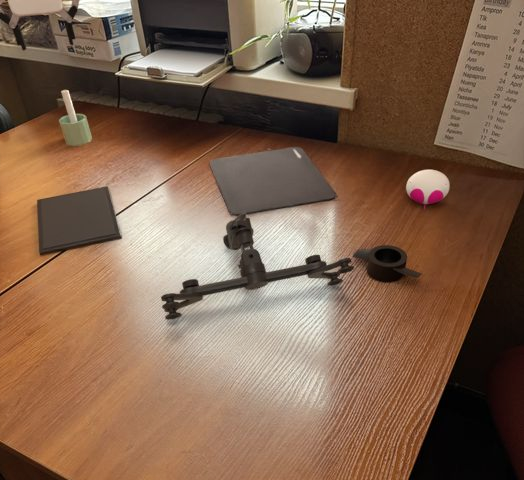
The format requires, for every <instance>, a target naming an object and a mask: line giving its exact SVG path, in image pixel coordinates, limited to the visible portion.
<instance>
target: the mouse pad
mask: <svg viewBox="0 0 524 480" xmlns="http://www.w3.org/2000/svg"><path fill="white" fill-rule="evenodd" d="M209 167H210V169H211V171H212V173H213V176H214V178H215V181H216V184H217V186H218V188H219V191H220V193H221V196H222V198H223V200H224V203H225V205H226V208H227V210H228V212H229V213H230V214H231V215H234V216H239V215H241V214H246V215H248V214H253V213H259V212H265V211H271V210H272V211H273V210H277V209H283V208H289V207H295V206H301V205H306V204H312V203H318V202H325V201H330V200H333V199H336V197H337V192H336V191H335V190H334V189H333V187H332V186H331V184H330V183H329V182H328V180H327V179H326V178H325V176H324V175H323V174H322V173H321V171H320V170H319V168H318V166H316V165H315V164H314V162H313V160H312V159H311V158H310V157H309V156H308V154H307V153H306V151H305V150H304V149H303V148H302V147H299V146H292V147H285V148H279V149H271V150H265V151H258V152H252V153H244V154H238V155H231V156H226V157H224V156H223V157H218V158H214V159H211V160H209Z"/></svg>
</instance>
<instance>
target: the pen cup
mask: <svg viewBox="0 0 524 480" xmlns="http://www.w3.org/2000/svg"><path fill="white" fill-rule="evenodd" d="M75 115H76V118H77V121H78V122H74V123H71V122H70V119H69V116H68V114H67V115H64V116H61V117H60V118H59V119H58V124H59V127H60V129H61V133H62V136H63V139H64V142H65V144H66V145H67V146H71V147H77V146H79V147H80V146H82V145H83V146H84V145H86V144H88V143H91V141H92V140H93V135H92V133H91V129H90V126H89V122H88V119H87V116H86V115H85V114H83V113H75Z"/></svg>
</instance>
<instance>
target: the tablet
mask: <svg viewBox="0 0 524 480" xmlns="http://www.w3.org/2000/svg"><path fill="white" fill-rule="evenodd" d="M36 211H37V233H38V235H37V236H38V237H37V238H38V254H39V256H40V257H42V256H47V255H51V254H55V253H59V252H60V253H61V252H65V251H69V250H74V249H78V248H82V247H83V248H84V247H88V246H93V245H97V244H98V245H99V244H102V243H107V242H111V241H116V240H120V239H122V234H121V230H120V226H119V223H118V219H117V215H116V211H115V207H114V204H113V199H112V196H111V193H110V188H109V186H107V185H105V186H101V187H96V188H91V189H86V190H81V191H75V192H71V193H65V194H64V193H63V194H60V195H55V196H50V197H43V198H39V199H36Z"/></svg>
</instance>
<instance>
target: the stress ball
mask: <svg viewBox="0 0 524 480" xmlns="http://www.w3.org/2000/svg"><path fill="white" fill-rule="evenodd" d="M450 187H451V186H450V180H449V178H448V177H447V176H446V175H445V174H444V173H443V172H441V171H438V170H436V169H435V170H434V169H422V170H419V171H417V172H415V173H414V174H412V175H411V176H410V177H409V178H408V180H407V182H406V186H405V191H406V193H407V196H408V197H409V198H410V199H411V200H413V201H414V202H416V203H418V204H422V205H423V210H425V209H426V205H432V204H436V203H438V202H440V201H442V200H443V199H444V198H445V197H447V196H448V194H449V191H450V189H451V188H450Z"/></svg>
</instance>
